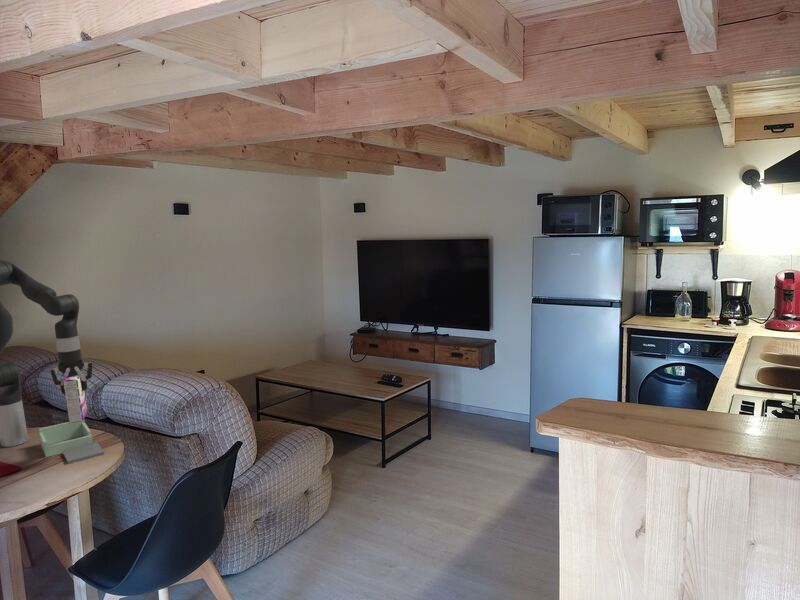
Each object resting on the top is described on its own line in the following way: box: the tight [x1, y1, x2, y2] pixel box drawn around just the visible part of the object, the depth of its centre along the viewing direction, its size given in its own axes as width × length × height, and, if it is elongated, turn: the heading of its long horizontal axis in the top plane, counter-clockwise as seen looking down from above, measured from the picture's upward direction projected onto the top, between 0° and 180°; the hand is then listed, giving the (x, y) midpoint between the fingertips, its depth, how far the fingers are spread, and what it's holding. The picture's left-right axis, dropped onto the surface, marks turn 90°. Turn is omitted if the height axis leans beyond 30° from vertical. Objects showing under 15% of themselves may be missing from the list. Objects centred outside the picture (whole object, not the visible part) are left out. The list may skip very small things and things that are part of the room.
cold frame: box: [38, 420, 93, 458], centre depth 223 cm, size 15×16×7 cm
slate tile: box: [62, 442, 105, 465], centre depth 215 cm, size 12×12×1 cm
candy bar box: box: [63, 374, 88, 423], centre depth 211 cm, size 11×5×16 cm, turn 22°
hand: (74, 392), depth 211 cm, fingers closed on candy bar box, 5 cm apart
